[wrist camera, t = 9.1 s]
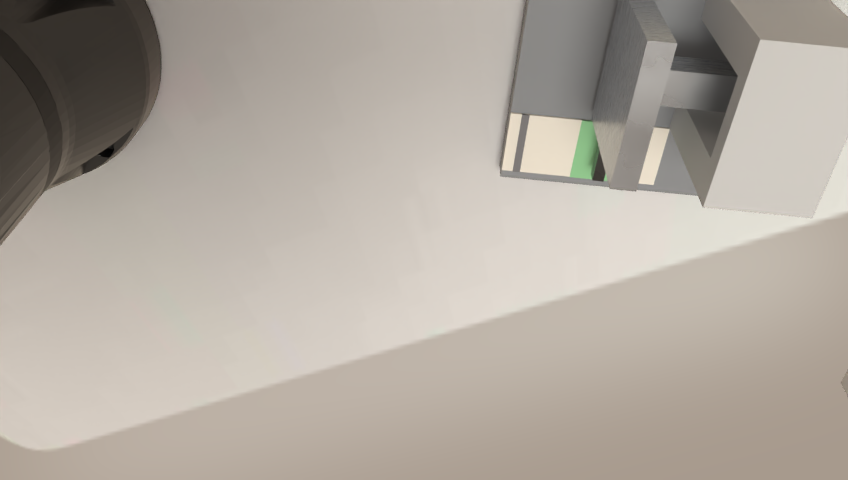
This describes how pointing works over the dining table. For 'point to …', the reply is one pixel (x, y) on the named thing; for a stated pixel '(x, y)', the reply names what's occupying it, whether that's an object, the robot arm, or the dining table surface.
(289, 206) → the dining table surface
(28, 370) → the dining table surface
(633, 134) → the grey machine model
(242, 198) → the dining table surface
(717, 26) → the gauge base
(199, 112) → the dining table surface
